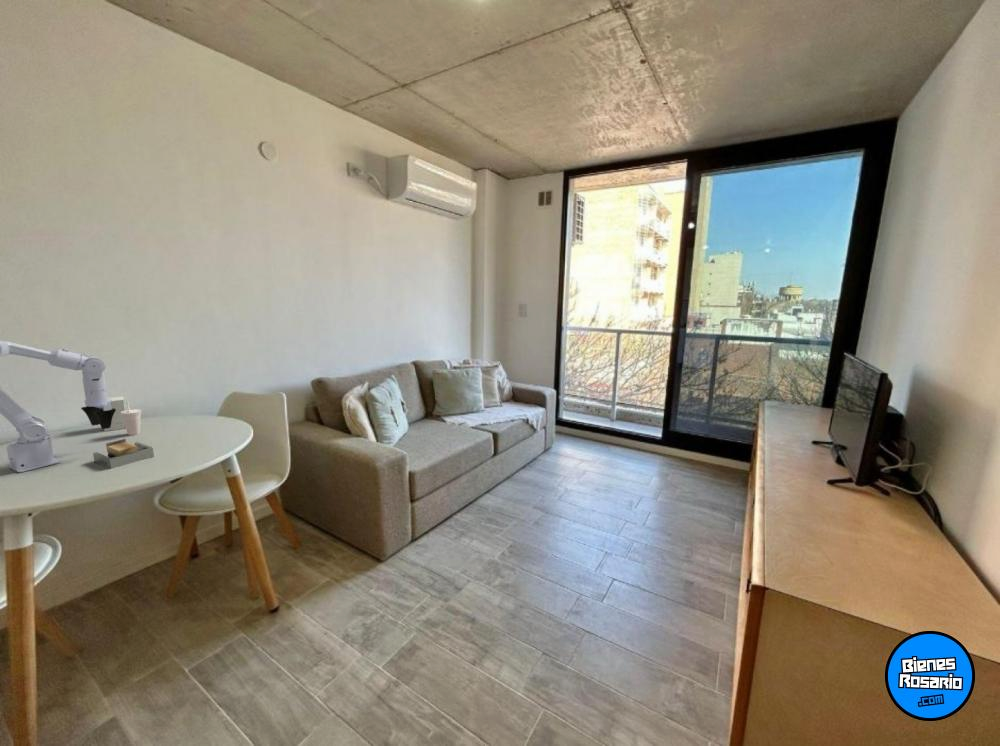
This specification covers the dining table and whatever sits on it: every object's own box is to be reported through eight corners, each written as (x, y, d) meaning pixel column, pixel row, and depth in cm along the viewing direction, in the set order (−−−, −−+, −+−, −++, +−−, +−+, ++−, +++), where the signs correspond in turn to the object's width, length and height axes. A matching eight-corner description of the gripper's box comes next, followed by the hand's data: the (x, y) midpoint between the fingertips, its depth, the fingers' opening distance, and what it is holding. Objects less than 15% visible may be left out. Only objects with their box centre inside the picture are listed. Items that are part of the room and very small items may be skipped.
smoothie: (120, 434, 165) (115, 401, 162) (140, 430, 170) (135, 398, 168) (127, 437, 162) (123, 403, 159) (147, 433, 168) (143, 400, 165)
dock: (110, 468, 134) (108, 459, 134) (94, 461, 139) (92, 453, 138) (154, 456, 145) (153, 447, 145) (138, 450, 150) (137, 442, 149)
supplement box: (127, 428, 172) (123, 399, 170) (103, 431, 167) (99, 402, 165) (127, 423, 178) (123, 396, 175) (103, 427, 173) (99, 398, 170)
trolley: (118, 463, 138) (116, 448, 137) (106, 458, 142) (104, 443, 141) (140, 457, 144) (138, 442, 143) (128, 453, 147) (126, 438, 146)
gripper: (120, 390, 145) (125, 427, 147) (100, 385, 151) (105, 420, 153) (93, 394, 138) (99, 432, 141) (74, 389, 144) (80, 425, 147)
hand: (101, 426), depth 147 cm, fingers open, 7 cm apart
